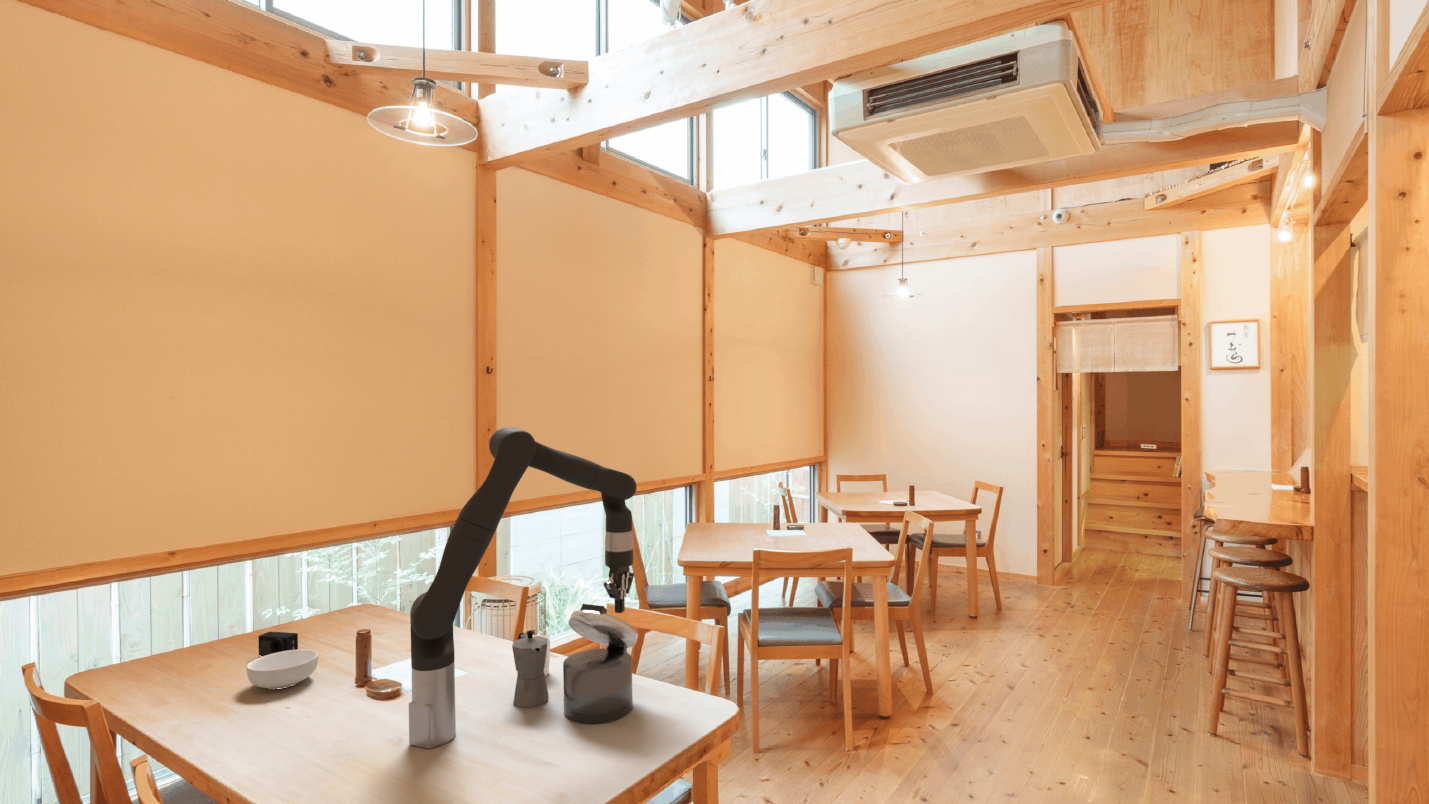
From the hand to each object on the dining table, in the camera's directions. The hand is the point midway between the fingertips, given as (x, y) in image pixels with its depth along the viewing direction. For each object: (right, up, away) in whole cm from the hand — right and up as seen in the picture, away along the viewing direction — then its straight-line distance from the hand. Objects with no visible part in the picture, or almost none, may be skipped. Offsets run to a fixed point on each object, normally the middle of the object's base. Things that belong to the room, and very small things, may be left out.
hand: (619, 612), depth 184 cm
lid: (-3, -3, -9) cm, 10 cm away
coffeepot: (-23, -21, -5) cm, 32 cm away
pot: (-4, -21, -11) cm, 24 cm away
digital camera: (-110, -23, +28) cm, 115 cm away
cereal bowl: (-94, -23, +7) cm, 97 cm away
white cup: (-25, -21, +11) cm, 35 cm away
